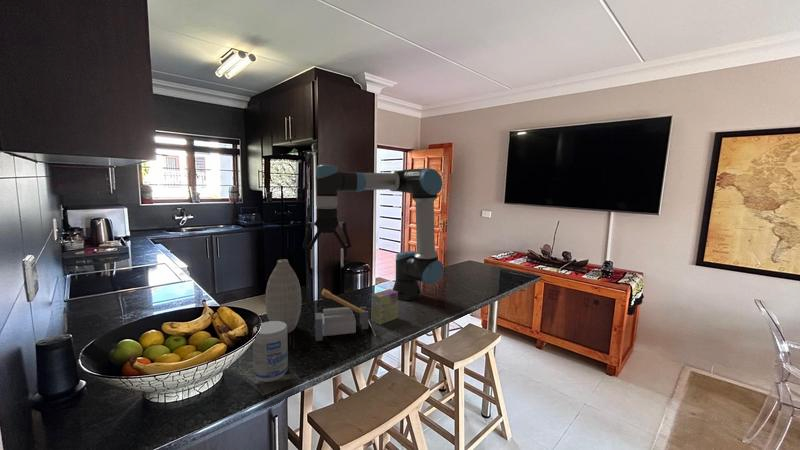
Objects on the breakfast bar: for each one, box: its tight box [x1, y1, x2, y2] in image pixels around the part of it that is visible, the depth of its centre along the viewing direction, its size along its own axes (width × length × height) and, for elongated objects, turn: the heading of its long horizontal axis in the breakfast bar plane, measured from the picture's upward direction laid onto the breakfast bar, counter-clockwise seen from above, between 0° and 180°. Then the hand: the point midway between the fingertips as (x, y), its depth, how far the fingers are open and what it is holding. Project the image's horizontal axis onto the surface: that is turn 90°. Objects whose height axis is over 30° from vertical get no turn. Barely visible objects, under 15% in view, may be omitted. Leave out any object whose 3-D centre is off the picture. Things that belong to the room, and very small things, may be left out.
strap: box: [321, 288, 365, 315], centre depth 126 cm, size 19×4×2 cm
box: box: [370, 288, 399, 325], centre depth 138 cm, size 10×6×12 cm, turn 134°
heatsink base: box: [322, 306, 377, 338], centre depth 126 cm, size 24×18×8 cm
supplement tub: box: [252, 320, 289, 383], centre depth 96 cm, size 10×10×15 cm
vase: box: [265, 258, 302, 334], centre depth 123 cm, size 13×13×28 cm
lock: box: [314, 312, 324, 342], centre depth 118 cm, size 2×6×8 cm, turn 16°
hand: (327, 266), depth 122 cm, fingers open, 10 cm apart
